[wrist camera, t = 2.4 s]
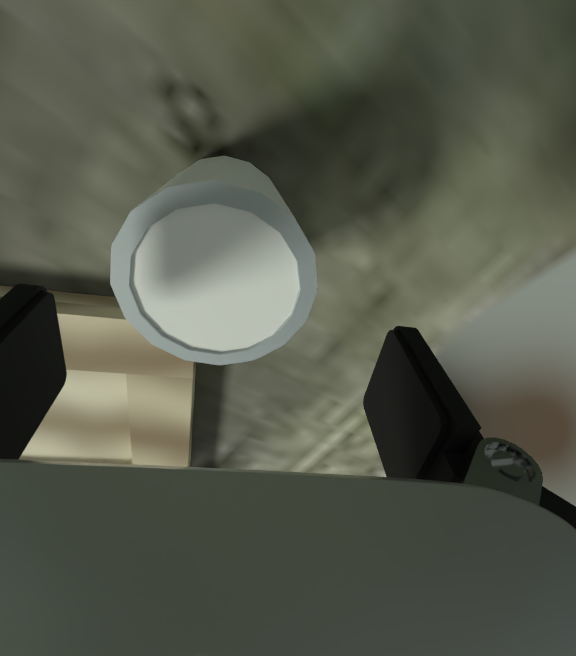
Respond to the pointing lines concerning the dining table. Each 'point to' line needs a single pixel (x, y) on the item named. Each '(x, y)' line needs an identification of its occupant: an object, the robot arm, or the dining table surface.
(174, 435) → the coaster board
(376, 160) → the dining table surface
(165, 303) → the white cup
